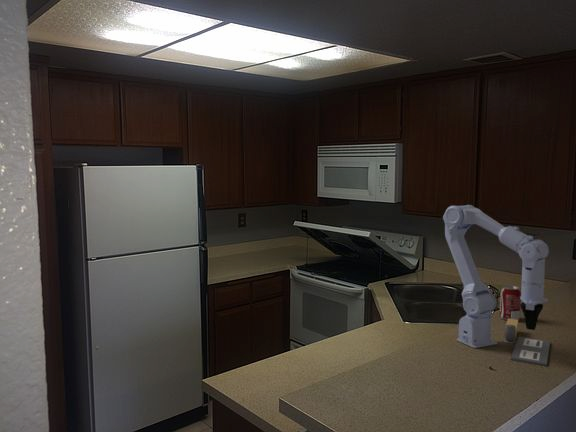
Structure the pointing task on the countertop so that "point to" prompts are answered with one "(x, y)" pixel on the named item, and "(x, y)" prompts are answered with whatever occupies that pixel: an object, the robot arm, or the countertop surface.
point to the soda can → (510, 303)
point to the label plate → (530, 350)
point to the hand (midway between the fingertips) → (530, 328)
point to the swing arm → (511, 329)
